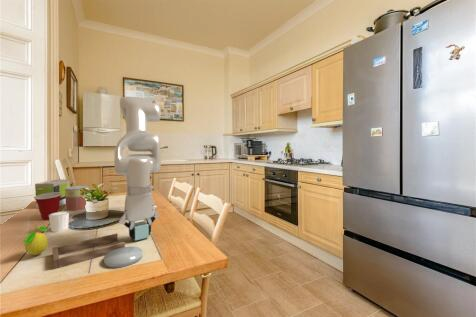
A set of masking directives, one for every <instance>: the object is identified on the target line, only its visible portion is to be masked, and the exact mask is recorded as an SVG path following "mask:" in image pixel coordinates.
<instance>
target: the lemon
mask: <svg viewBox="0 0 476 317" xmlns="http://www.w3.org/2000/svg"><path fill="white" fill-rule="evenodd" d="M38 230H39V231H42V233H41V232H38ZM47 231H48V228H47V227H46V225H40V226H38V227H37V226H35V230H34V231H32V232H30V233H28V234H27V235H26V236H25V239H24V241H23V244H24V247H25V251H26V252H27V253H28V254H30V255H35V256H38V255H40V254H41V253H43V252H44V251H45V250H46V249H47V248H48V244H49V243H48V237H47V236H46V235H45V234H44V233H43V232H47Z"/></svg>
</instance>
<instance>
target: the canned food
mask: <svg viewBox="0 0 476 317" xmlns="http://www.w3.org/2000/svg"><path fill="white" fill-rule="evenodd" d="M81 188H89V189H90V186H89V185H76V186H75V185H74V186H70V187H67V188H65V198H66V204H65V211H66V212H76V211H83V210H86V209H85V205H86V200H85V199H84V198H83V197H82V196H81V195H80V189H81Z"/></svg>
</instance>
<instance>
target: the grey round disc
mask: <svg viewBox="0 0 476 317" xmlns="http://www.w3.org/2000/svg"><path fill="white" fill-rule="evenodd" d="M142 258H143V250H142V248H141V247H138V246H125V247H123V248H118V249H115V250H113V251H111V252H109V253H107V254H106V255H104V257H103V265H104V266H105V267H107V268H112V269H119V268H120V269H121V268H126V267H129V266H132V265H134V264H136V263H138V262H139V261H141V259H142Z"/></svg>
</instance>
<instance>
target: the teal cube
mask: <svg viewBox="0 0 476 317" xmlns="http://www.w3.org/2000/svg"><path fill="white" fill-rule="evenodd" d="M134 229H135V239H133V240H134V241H135V242H136V241H139V240H144V239H147V238H150V235H149V224H147V222H146V220H142V221H138V222H137V221H136V222H135V223H134Z"/></svg>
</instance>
